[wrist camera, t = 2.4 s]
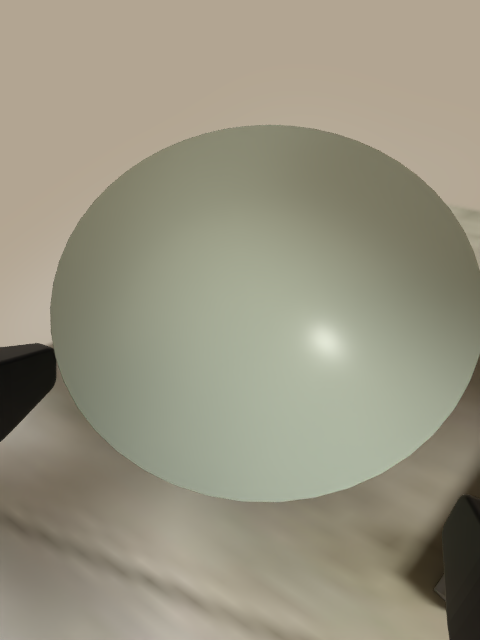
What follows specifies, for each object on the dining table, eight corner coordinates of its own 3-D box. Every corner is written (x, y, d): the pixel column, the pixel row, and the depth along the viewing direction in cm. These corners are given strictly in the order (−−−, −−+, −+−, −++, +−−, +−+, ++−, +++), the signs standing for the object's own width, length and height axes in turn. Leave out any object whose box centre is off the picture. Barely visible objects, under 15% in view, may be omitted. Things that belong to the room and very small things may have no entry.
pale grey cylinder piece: (205, 511, 16) (38, 553, 4) (188, 370, 19) (57, 159, 7) (352, 482, 16) (583, 443, 4) (313, 346, 19) (390, 99, 7)
